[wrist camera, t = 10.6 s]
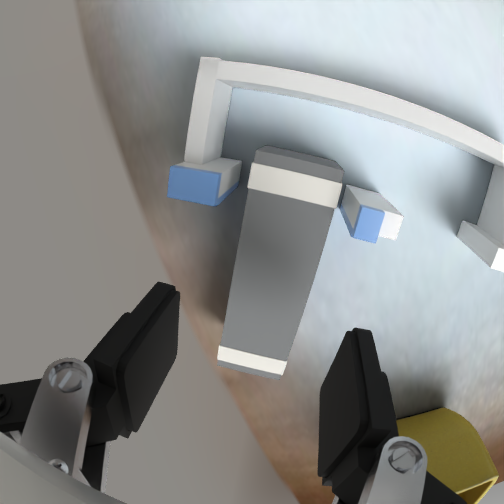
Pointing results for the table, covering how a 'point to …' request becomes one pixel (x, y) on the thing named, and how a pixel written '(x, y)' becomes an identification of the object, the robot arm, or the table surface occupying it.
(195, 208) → the table surface
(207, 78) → the white arch handle
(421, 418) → the flower pot
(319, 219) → the white-capped gray brick
